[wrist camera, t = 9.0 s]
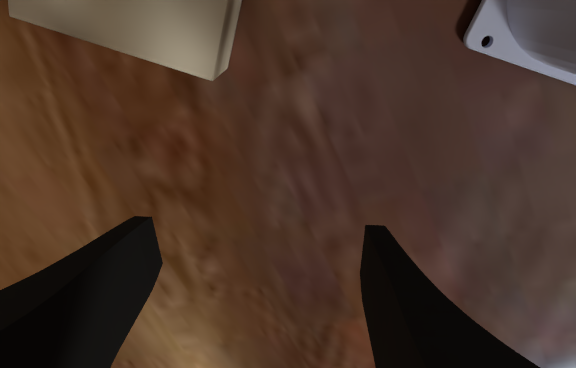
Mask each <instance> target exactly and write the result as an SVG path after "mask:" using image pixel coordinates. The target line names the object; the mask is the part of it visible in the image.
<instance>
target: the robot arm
mask: <svg viewBox="0 0 576 368" xmlns="http://www.w3.org/2000/svg"><path fill="white" fill-rule="evenodd" d="M486 36H489V38H490V41H489V43H488V44H487V45H486V46H484V47H482V45H481V42H482V39H483V38H484V37H486ZM463 41H464V44H465V46H466V47H468V48H469V49H472V50H475V51H478V52H481V53H484V54H487V55H490V56H492V57H495V58H498V59H501V60H504V61H507V62H510V63H513V64H516V65H519V66H521V67H524V68H527V69H530V70H533V71H536V72H539V73H542V74H545V75H548V76H550V77H553V78H556V79H559V80H562V81H565V82H568V83H571V84H574V85H576V0H482V1H481V3H480V5H479V7H478V9H477V11H476V13H475V15H474V17H473V19H472V21H471V23H470V25H469V27H468V29H467V31H466V33H465V35H464V38H463ZM162 264H163V263H162V258H161V254H160V250H159V245H158V241H157V237H156V233H155V228H154V224H153V220H152V217H141V216H134V217H132V218H130V219H128V220H127V221H125V222H123V223H121V224H120V225H118V226H116V227H115V228H113V229H111V230H110V231H108V232H106V233H105V234H103V235H102V236H100V237H98V238H97V239H95V240H93V241H92V242H90V243H88V244H87V245H85V246H84V247H82V248H80V249H79V250H77V251H75V252H73V253H72V254H70V255H68V256H66V257H65V258H63V259H61V260H59V261H57V262H56V263H54V264H52V265H50V266H49V267H47V268H45V269H43V270H41V271H39V272H37V273H35V274H33V275H31V276H29V277H27V278H25V279H23V280H21V281H19V282H17V283H15V284H13V285H11V286H8V287H6V288H4V289H2V290H0V368H110V367H111V365H112V363H113V361H114V359H115V357H116V355H117V353H118V351H119V349H120V347H121V345H122V344H123V342H124V340H125V338H126V336H127V335H128V333H129V331H130V329H131V328H132V326H133V324H134V322H135V320H136V319H137V317H138V315H139V313H140V312H141V310H142V308H143V306H144V304H145V303H146V301H147V299H148V297H149V295H150V293H151V291H152V290H153V287H154V285H155V282H156V280H157V277H158V275H159V272H160V269H161V267H162ZM360 279H361V292H362V302H363V307H364V312H365V317H366V322H367V327H368V332H369V337H370V342H371V347H372V351H373V356H374V361H375V366H376V368H540V367H538V366H537V365H535V364H534V363H532V362H531V361H529V360H528V359H526V358H525V357H523V356H522V355H520V354H518V353H517V352H515V351H514V350H513V349H511V348H510V347H508V346H507V345H505V344H504V343H503V342H501V341H500V340H498V339H497V338H496V337H494V336H493V335H492V334H490V333H489V332H488V331H487V330H485V329H484V328H483V327H481V326H480V325H479V324H477V323H476V322H475V321H474V320H472V319H471V318H470V317H469V316H467V315H466V314H465V313H464V312H463V311H462V310H461V309H459V308H458V307H457V306H456V305H455V304H454V303H453V302H451V301H450V300H449V299H448V298H447V297H446V296H445V295H444V294H443V293H442V292H441V291H440V290H439V289H438V288H437V287H436V286H435V285H434V284H433V283H432V282H431V281H430V280H429V279H428V278H427V277H426V276H425V275H424V273H423V272H422V271H421V270H420V269H419V268H418V267H417V265H416V264H415V263H414V262H413V261H412V260H411V258H410V257H409V256H408V255H407V254H406V252H405V251H404V250H403V249H402V247H401V246H400V245H399V243H398V242H397V241H396V240H395V238H394V237H393V236H392V234H391V233H390V232H389V230H388V229H387V228H386V227H385V226H379V225H365V234H364V242H363V251H362V260H361V269H360Z"/></svg>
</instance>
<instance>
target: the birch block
mask: <svg viewBox="0 0 576 368" xmlns="http://www.w3.org/2000/svg"><path fill="white" fill-rule="evenodd" d="M241 2H242V0H8V6H9V16H11V17H14V18H17V19H20V20H23V21H26V22H29V23H32V24H36V25H39V26H42V27H45V28H48V29H51V30H54V31H57V32H61V33H64V34H67V35H70V36H73V37H76V38H79V39H82V40H86V41H89V42H92V43H95V44H98V45H101V46H104V47H107V48H111V49H114V50H117V51H120V52H123V53H126V54H129V55H132V56H136V57H139V58H142V59H145V60H148V61H151V62H154V63H157V64H161V65H164V66H167V67H170V68H173V69H176V70H179V71H182V72H186V73H189V74H192V75H195V76H198V77H201V78H204V79H207V80H211V81H213V80H214V79H215V78H217V77H218V76H219V75H220V74H221V73H222V72H224V71H225V70H226V69H227V68H228V64H229V59H230V55H231V50H232V45H233V40H234V35H235V30H236V26H237V21H238V16H239V11H240V6H241Z"/></svg>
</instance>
